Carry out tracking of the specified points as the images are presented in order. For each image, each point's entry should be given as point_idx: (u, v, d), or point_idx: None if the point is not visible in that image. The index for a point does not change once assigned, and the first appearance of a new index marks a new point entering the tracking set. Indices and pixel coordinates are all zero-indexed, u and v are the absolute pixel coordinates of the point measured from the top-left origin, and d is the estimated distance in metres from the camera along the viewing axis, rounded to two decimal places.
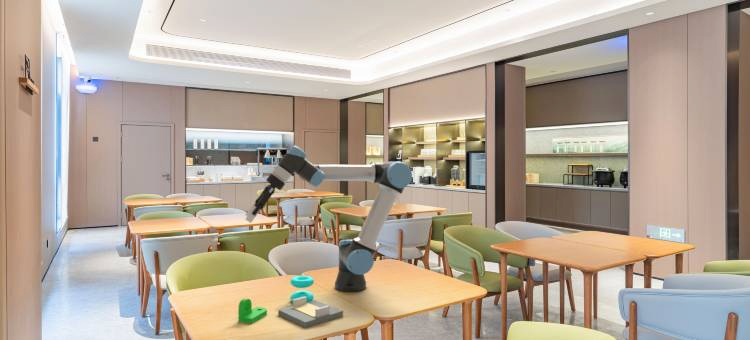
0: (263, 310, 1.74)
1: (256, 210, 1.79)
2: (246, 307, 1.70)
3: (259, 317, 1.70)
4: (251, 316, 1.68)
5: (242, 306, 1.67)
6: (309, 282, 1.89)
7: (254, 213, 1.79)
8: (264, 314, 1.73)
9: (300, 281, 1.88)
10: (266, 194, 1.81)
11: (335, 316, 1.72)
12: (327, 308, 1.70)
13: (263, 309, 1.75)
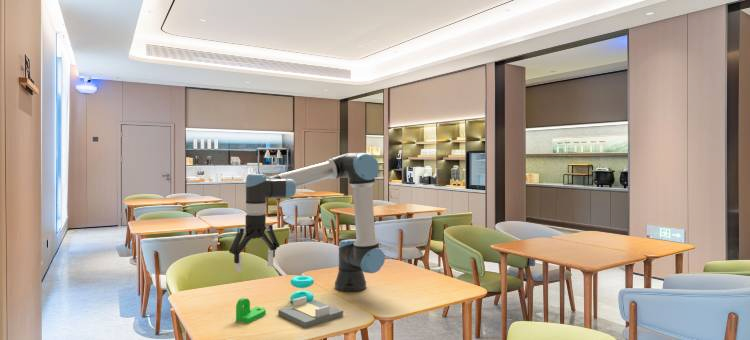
0: (262, 310, 1.74)
1: (235, 257, 1.65)
2: (244, 307, 1.71)
3: (257, 317, 1.70)
4: (248, 315, 1.68)
5: (239, 305, 1.67)
6: (309, 282, 1.89)
7: (235, 261, 1.65)
8: (262, 314, 1.73)
9: (300, 281, 1.88)
10: (236, 237, 1.66)
11: (335, 316, 1.72)
12: (327, 308, 1.70)
13: (262, 309, 1.75)
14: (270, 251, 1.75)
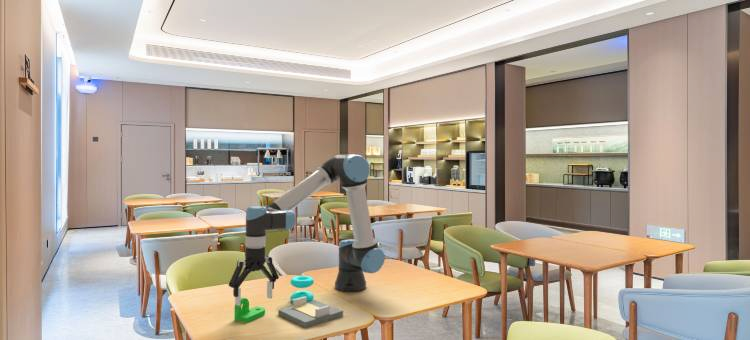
0: (261, 310, 1.74)
1: (234, 291, 1.65)
2: (243, 306, 1.71)
3: (255, 317, 1.70)
4: (247, 315, 1.68)
5: None
6: (309, 282, 1.89)
7: (234, 294, 1.65)
8: (261, 314, 1.73)
9: (300, 281, 1.88)
10: (235, 270, 1.66)
11: (335, 316, 1.72)
12: (327, 308, 1.70)
13: (261, 309, 1.75)
14: (269, 283, 1.75)
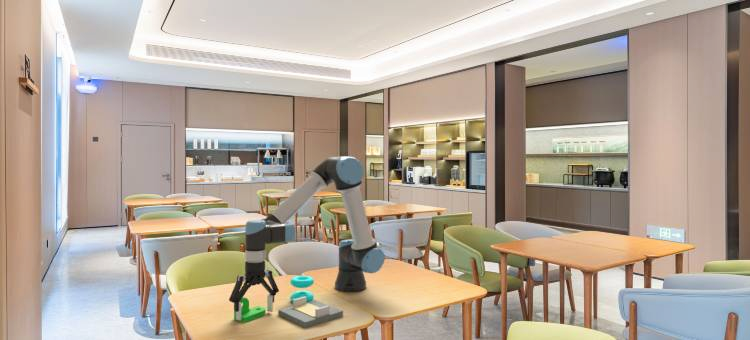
0: (261, 310, 1.74)
1: (235, 305, 1.66)
2: (243, 305, 1.72)
3: (254, 317, 1.70)
4: (246, 314, 1.69)
5: None
6: (309, 282, 1.89)
7: (235, 309, 1.66)
8: (261, 314, 1.73)
9: (300, 281, 1.88)
10: (236, 285, 1.66)
11: (335, 316, 1.72)
12: (327, 308, 1.70)
13: (262, 309, 1.75)
14: (269, 296, 1.76)
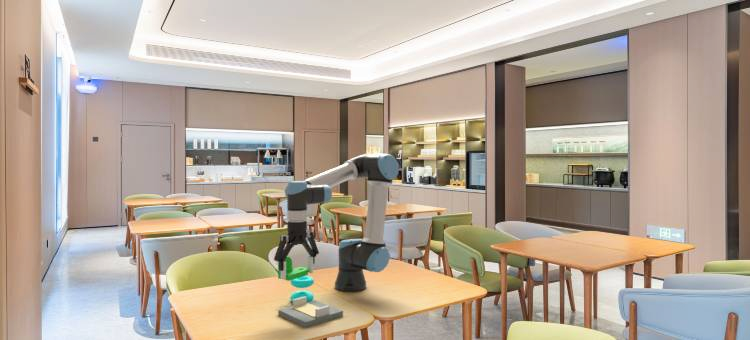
0: (304, 269, 1.76)
1: (279, 265, 1.68)
2: (287, 265, 1.74)
3: (298, 275, 1.72)
4: (290, 273, 1.71)
5: None
6: (309, 282, 1.89)
7: (280, 268, 1.68)
8: (304, 273, 1.75)
9: (300, 281, 1.88)
10: (279, 245, 1.68)
11: (335, 316, 1.72)
12: (327, 308, 1.70)
13: (304, 269, 1.78)
14: (310, 258, 1.77)
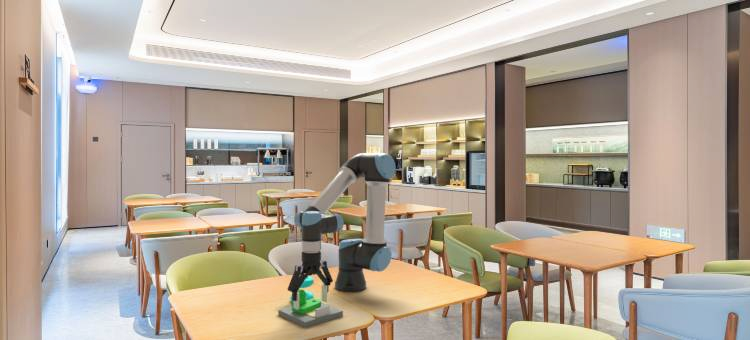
0: (317, 302, 1.77)
1: (293, 295, 1.68)
2: (300, 297, 1.75)
3: (311, 308, 1.73)
4: (303, 306, 1.72)
5: None
6: (309, 282, 1.89)
7: (293, 298, 1.68)
8: (317, 306, 1.76)
9: None
10: (294, 275, 1.69)
11: (335, 316, 1.72)
12: (327, 308, 1.70)
13: (317, 301, 1.78)
14: (324, 286, 1.78)
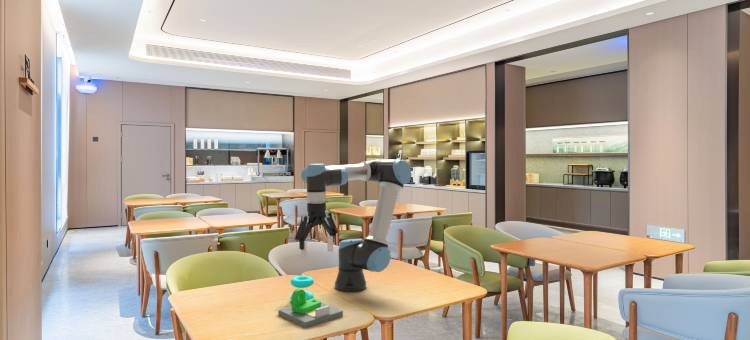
0: (317, 302, 1.77)
1: (300, 244, 1.73)
2: (300, 297, 1.75)
3: (311, 308, 1.73)
4: (303, 306, 1.72)
5: (295, 296, 1.72)
6: (309, 282, 1.89)
7: (300, 247, 1.73)
8: (317, 306, 1.76)
9: (300, 281, 1.88)
10: (300, 225, 1.74)
11: (335, 316, 1.72)
12: (327, 308, 1.70)
13: (317, 301, 1.78)
14: (330, 237, 1.83)
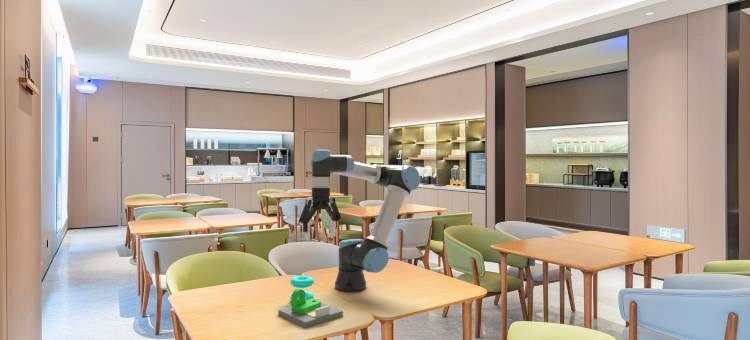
0: (317, 302, 1.77)
1: (304, 226, 1.78)
2: (300, 297, 1.75)
3: (311, 308, 1.73)
4: (303, 306, 1.72)
5: (294, 296, 1.72)
6: (309, 282, 1.89)
7: (304, 230, 1.78)
8: (317, 306, 1.76)
9: (300, 281, 1.88)
10: (304, 208, 1.79)
11: (335, 316, 1.72)
12: (327, 308, 1.70)
13: (317, 301, 1.78)
14: (333, 222, 1.88)
